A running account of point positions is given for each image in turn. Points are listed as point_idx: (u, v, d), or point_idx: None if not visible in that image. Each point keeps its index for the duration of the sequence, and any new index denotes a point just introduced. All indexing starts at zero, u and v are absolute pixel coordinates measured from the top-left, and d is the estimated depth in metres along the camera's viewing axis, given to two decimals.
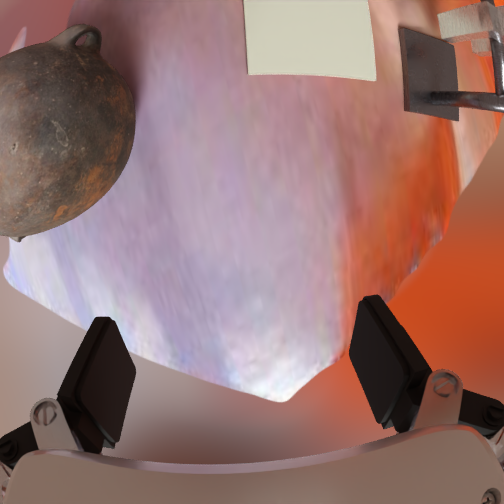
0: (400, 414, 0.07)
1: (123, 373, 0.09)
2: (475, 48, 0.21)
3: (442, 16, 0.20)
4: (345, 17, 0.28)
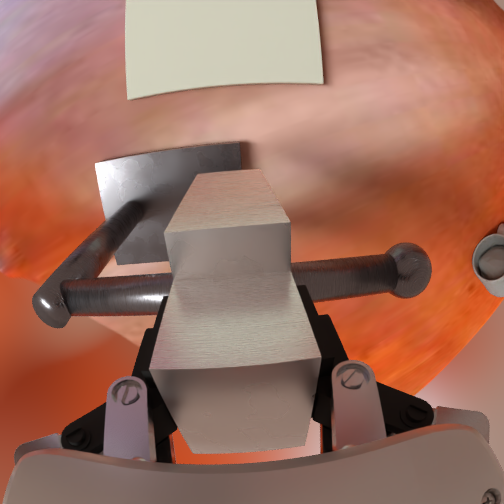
0: (314, 402, 0.08)
1: None
2: None
3: (251, 172, 0.17)
4: (230, 43, 0.20)
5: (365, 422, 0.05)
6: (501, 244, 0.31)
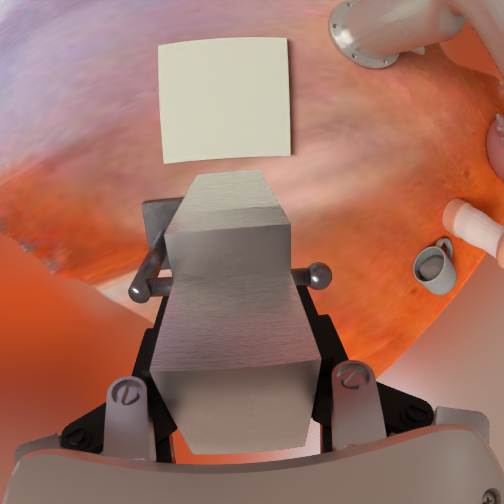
0: (314, 402, 0.08)
1: None
2: None
3: (251, 173, 0.17)
4: (231, 129, 0.37)
5: (365, 422, 0.05)
6: (439, 254, 0.47)
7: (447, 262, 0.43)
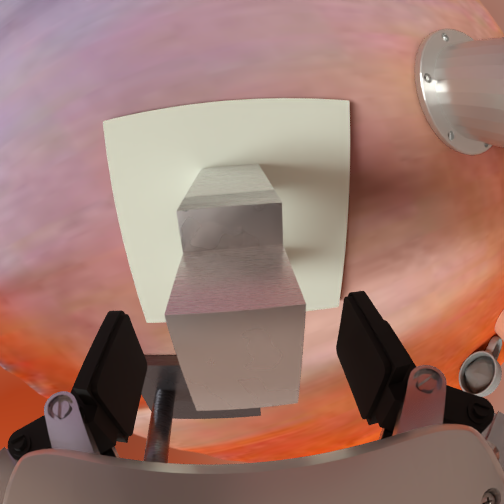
0: (383, 409, 0.07)
1: (136, 367, 0.10)
2: None
3: (250, 166, 0.19)
4: None
5: (426, 425, 0.05)
6: (488, 356, 0.33)
7: (497, 373, 0.29)
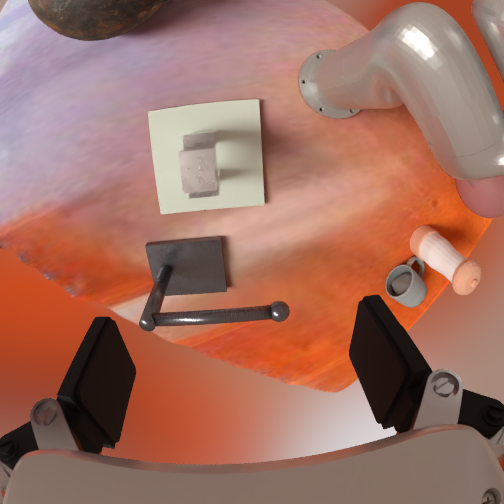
0: (400, 414, 0.07)
1: (123, 373, 0.09)
2: None
3: (213, 130, 0.42)
4: None
5: None
6: (410, 271, 0.56)
7: (415, 280, 0.52)
